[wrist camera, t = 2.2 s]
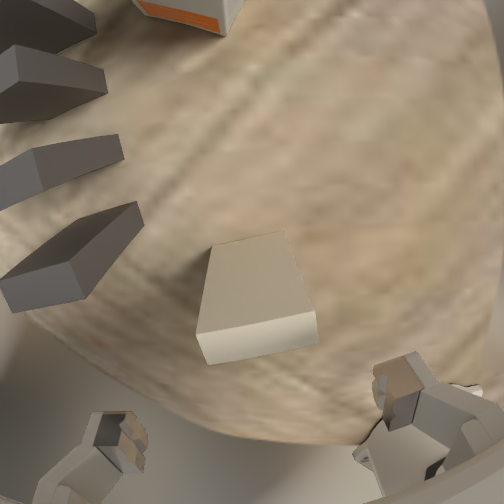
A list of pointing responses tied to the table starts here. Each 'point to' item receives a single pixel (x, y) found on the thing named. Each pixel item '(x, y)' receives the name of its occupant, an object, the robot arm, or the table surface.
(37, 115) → the domino
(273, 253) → the domino
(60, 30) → the domino
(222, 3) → the skincare box
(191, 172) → the table surface
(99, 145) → the domino
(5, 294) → the domino
